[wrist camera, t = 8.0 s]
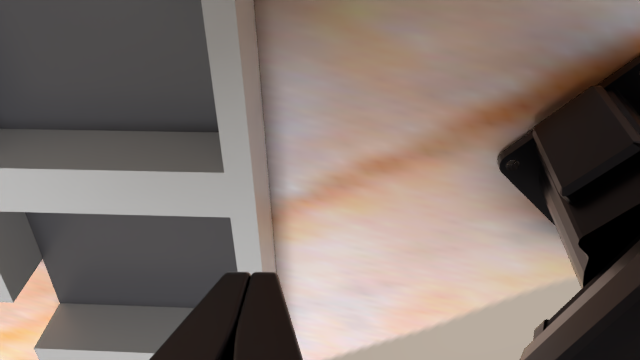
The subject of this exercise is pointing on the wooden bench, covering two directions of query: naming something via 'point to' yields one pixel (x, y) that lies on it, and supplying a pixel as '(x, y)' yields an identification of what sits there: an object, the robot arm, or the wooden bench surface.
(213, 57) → the trap deck
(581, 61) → the wooden bench surface
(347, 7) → the wooden bench surface
